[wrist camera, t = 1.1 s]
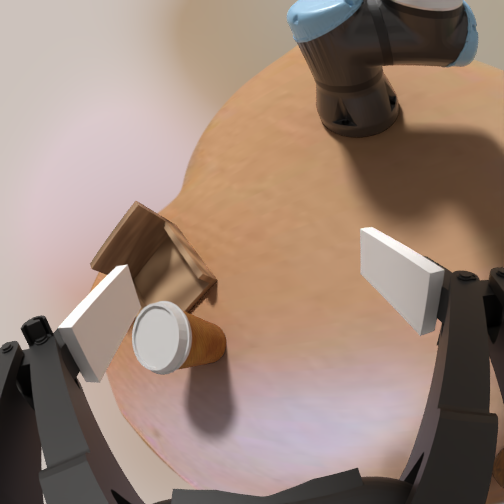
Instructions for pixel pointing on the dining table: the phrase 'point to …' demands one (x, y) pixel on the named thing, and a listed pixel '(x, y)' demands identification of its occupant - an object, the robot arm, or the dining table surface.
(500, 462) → the utensil holder
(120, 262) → the cradle
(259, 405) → the dining table surface
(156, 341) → the disposable coffee cup
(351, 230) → the dining table surface
